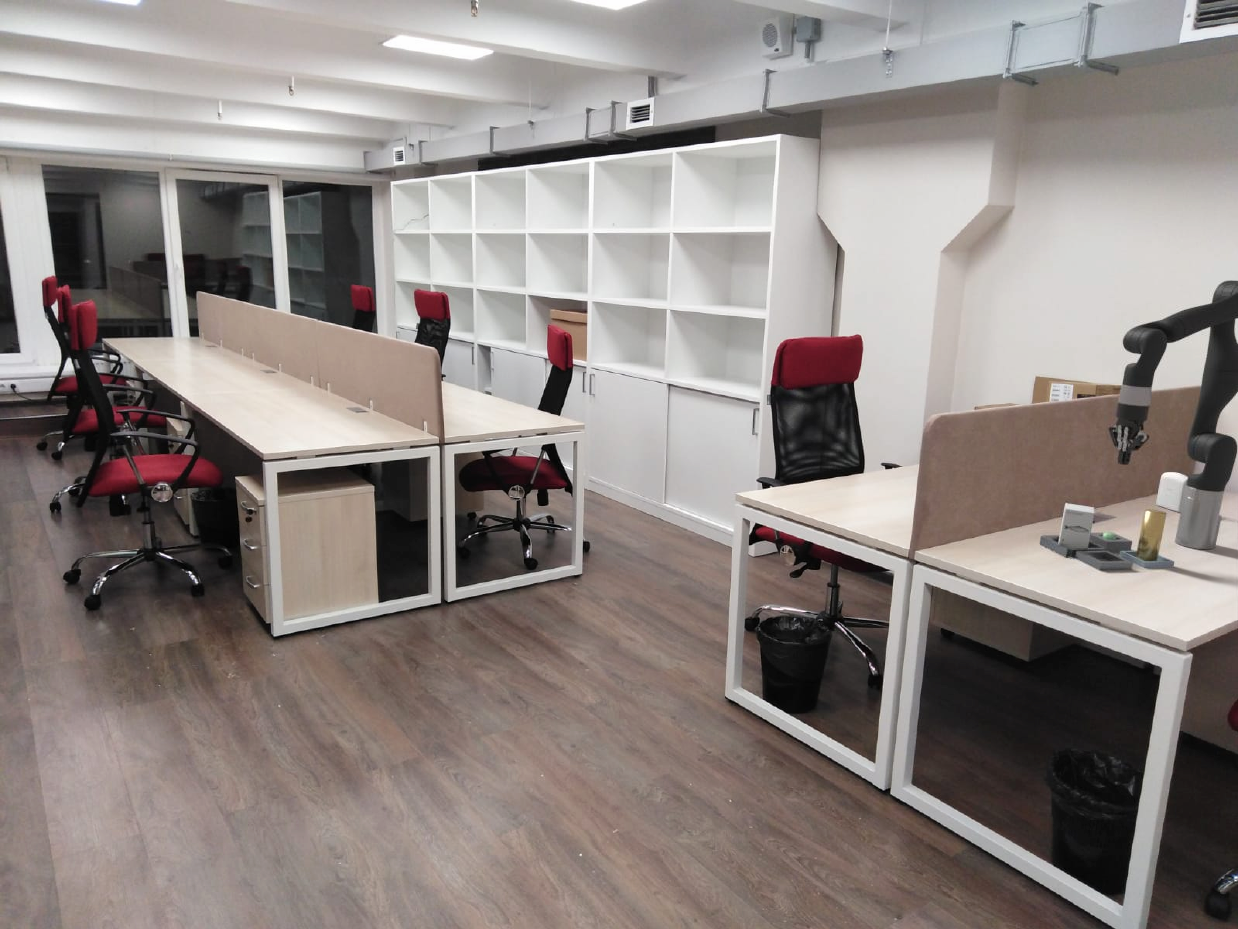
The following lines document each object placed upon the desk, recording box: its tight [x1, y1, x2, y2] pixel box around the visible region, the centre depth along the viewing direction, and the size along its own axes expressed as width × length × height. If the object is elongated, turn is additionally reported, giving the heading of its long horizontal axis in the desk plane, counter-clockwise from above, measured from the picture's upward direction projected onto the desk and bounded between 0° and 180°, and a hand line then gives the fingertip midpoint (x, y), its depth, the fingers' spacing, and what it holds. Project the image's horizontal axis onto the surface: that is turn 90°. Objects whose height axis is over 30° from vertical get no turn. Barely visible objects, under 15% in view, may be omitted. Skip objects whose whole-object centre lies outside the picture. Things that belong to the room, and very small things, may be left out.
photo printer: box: [1155, 471, 1189, 513], centre depth 290 cm, size 10×4×12 cm, turn 13°
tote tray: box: [1118, 550, 1175, 569], centre depth 234 cm, size 9×9×2 cm
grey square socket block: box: [1089, 531, 1133, 553], centre depth 245 cm, size 8×8×4 cm
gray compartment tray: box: [1039, 534, 1134, 572], centre depth 237 cm, size 12×23×2 cm, turn 10°
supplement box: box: [1058, 502, 1095, 548], centre depth 240 cm, size 7×7×13 cm
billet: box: [1136, 508, 1167, 561], centre depth 232 cm, size 5×5×14 cm
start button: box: [1102, 531, 1118, 539], centre depth 244 cm, size 3×3×3 cm
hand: (1122, 464), depth 239 cm, fingers closed
